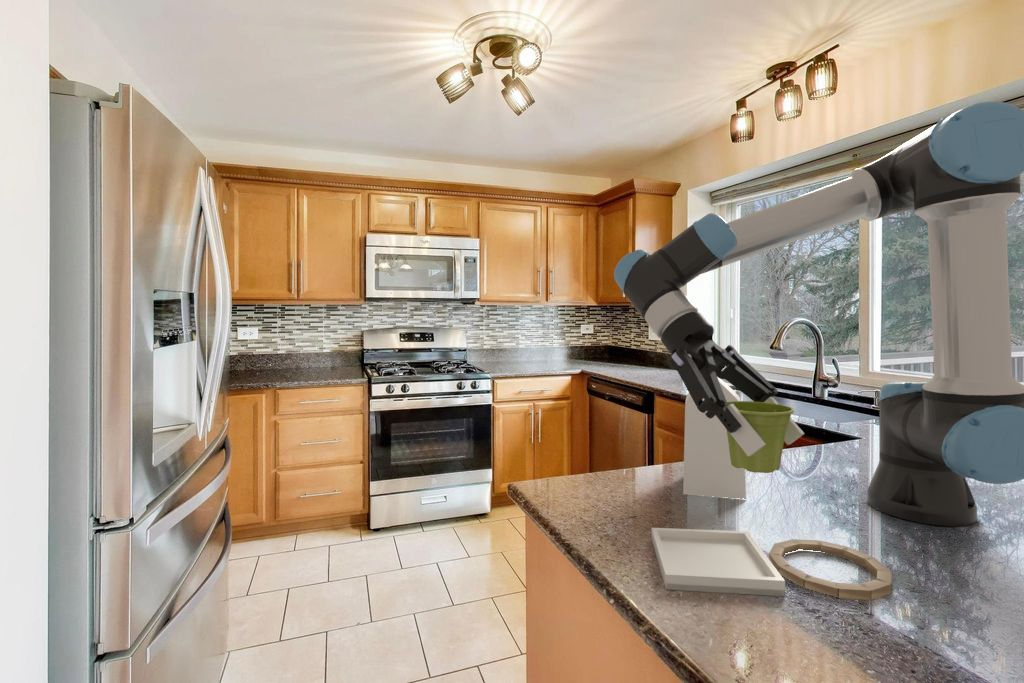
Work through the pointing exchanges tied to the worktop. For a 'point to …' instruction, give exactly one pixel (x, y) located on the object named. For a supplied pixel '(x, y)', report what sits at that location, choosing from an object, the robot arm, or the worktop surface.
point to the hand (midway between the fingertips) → (777, 444)
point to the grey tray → (715, 562)
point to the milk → (710, 454)
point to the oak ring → (840, 590)
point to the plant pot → (761, 435)
